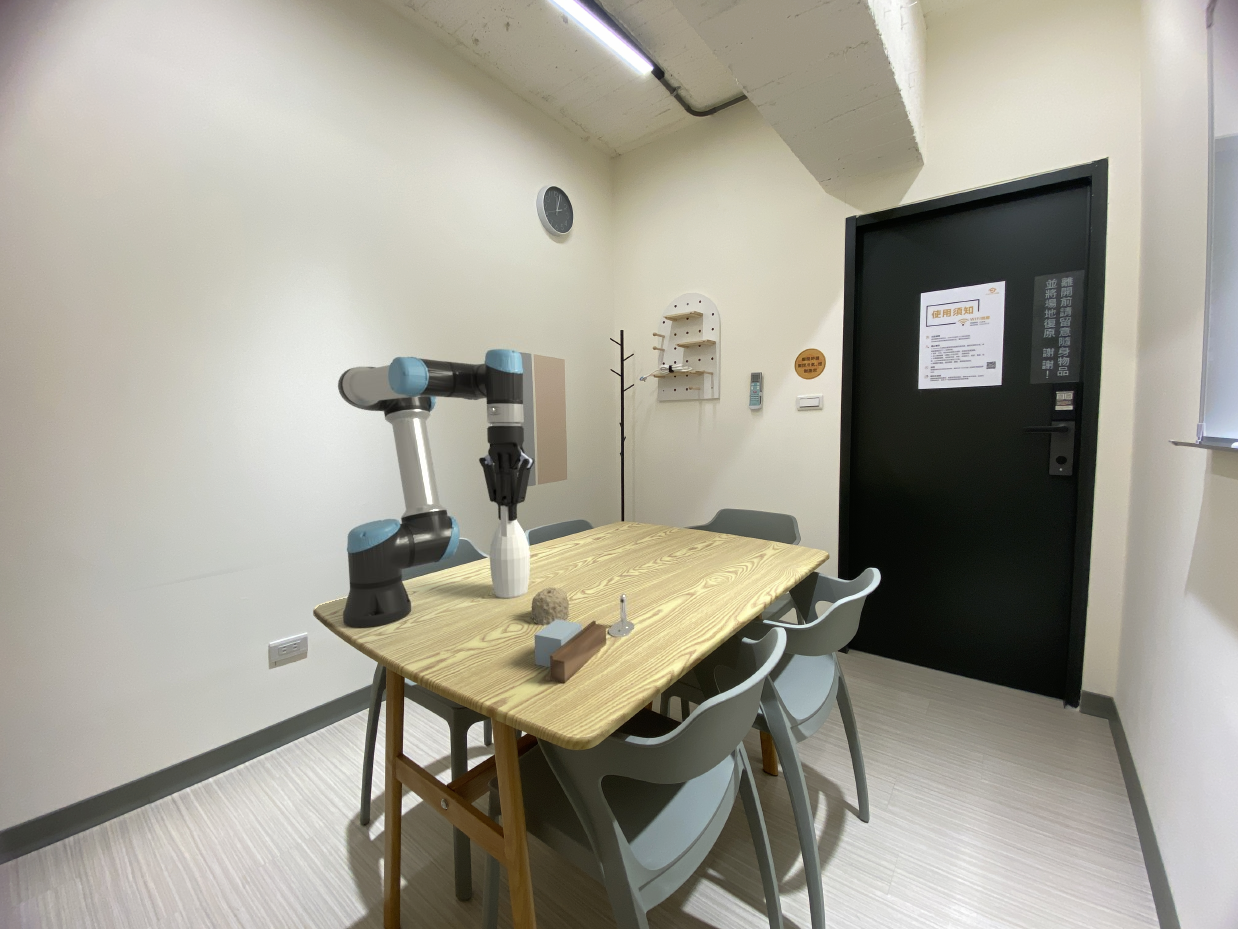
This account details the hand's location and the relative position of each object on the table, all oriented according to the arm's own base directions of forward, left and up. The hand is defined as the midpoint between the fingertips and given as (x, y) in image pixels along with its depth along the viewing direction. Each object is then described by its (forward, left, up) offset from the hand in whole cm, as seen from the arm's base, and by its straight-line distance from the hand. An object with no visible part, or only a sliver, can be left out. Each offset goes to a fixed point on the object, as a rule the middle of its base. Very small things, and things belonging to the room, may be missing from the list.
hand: (508, 535), depth 101 cm
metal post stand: (+20, +14, -23) cm, 34 cm away
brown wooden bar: (+19, -3, -23) cm, 30 cm away
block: (+14, -3, -23) cm, 27 cm away
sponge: (+1, +14, -23) cm, 27 cm away
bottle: (-19, +25, -23) cm, 39 cm away
